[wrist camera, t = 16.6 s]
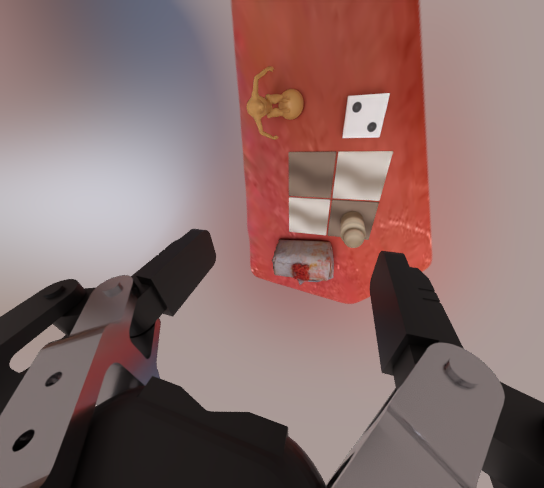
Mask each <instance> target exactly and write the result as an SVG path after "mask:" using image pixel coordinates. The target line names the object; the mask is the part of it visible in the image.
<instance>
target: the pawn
mask: <svg viewBox="0 0 544 488" xmlns="http://www.w3.org/2000/svg"><path fill="white" fill-rule="evenodd" d="M340 224H341V238H342V240H343V241H344V243H345V244H346V245H347V246H348V247H351V248H356V247H359V246H360V245H361V244H362V243H363V241H364V239H365V237H366V231H365V226H364V221H363V217H362V215H361V214H360V213H358V212H355V211H350V212H347V213H345V214H344V215H343V216H342V217H341V221H340Z"/></svg>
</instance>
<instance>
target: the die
mask: <svg viewBox="0 0 544 488" xmlns="http://www.w3.org/2000/svg"><path fill="white" fill-rule="evenodd" d="M389 95H390V93H383V94H370V95H356V96H348V99H347V106H346V113H345V120H344V127H343V138H373V137H380V133H381V129H382V125H383V120H384V116H385V112H386V108H387V104H388V99H389Z"/></svg>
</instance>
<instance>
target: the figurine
mask: <svg viewBox="0 0 544 488" xmlns="http://www.w3.org/2000/svg"><path fill="white" fill-rule="evenodd" d="M268 70H269V71H272V70H273V67H271V66H269V67H267V68H266V69H264V70H263V71H262V72H260V73H259V74H257V75H256V76H255V77H254V83H253V92H252V97H251V99H250V100H249V101H248V103H247V111H248V113H249V115H251V116H252V117H253V118H254V120H255V122H256V123H257V126H258V129H259V132H260V134H261V135H263V136H266V137H268V138H271V139H273V140H275V139H278V137H276V136H277V135H276V136H274V137H273V136H272V135H270V134H268V133H266V132H264V131H263V128H262V123H261V118H262V117H264V116H265V115H266V114H267V117H268V118H271V117H279V116H283V117H284V118H286V119H288V120H292V119H295V118H297V117H298V116H299V115H300V114H301V112H302V110H303V105H304V101H303V97H302V95H301V93H300V92H299V91H297V90H295V89H288V90H286V91H285V92H283V94H282V95H279V94H273V95H269V94H267V95H266V96H265V98H264V97H261V96H259V94H258V80H259V79H260V78H261V77H262V76H264V75H265V74H266V73H267V71H268ZM278 102H279V105H278V106H279V109H278V108H273V109H272V104H276V103H278Z"/></svg>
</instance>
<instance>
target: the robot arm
mask: <svg viewBox="0 0 544 488" xmlns="http://www.w3.org/2000/svg"><path fill="white" fill-rule="evenodd" d="M215 261H216V253H215V250H214V246H213V243H212V239H211V236H210V233H209V232H208V231H207V230H199V229H191V230H190V231H189V232H188V233H187V234H185V235H184V236H183V237H182V238H180V239H178V240H176V241H174V242H173V243H171V244H170V245H169V246H168V247H167V248H165V250H163V251H162V252H160V253H159V255H157V256H156V257H154V258H153V259H152V260H151V261H149V262H148V263H147V264H146V265H145V266H143V267H142V268H141V269H140V270H138V271H137V272H136V273H135V274H134V275H132V276H127V275H122V276H117V277H113V278H111V279H109V280H107V281H105V282H103V283H102V284H100V285H99V286H97V287H96V288H86V289H84V288H83V287H82V286H81V285H80V284H79V282H78V281H76V280H74V279H68V280H63V281H60V282H57V283H54V284H52V285H50V286H48V287H46V288H44V289H43V290H41V291H39V292H38V293H36V294H35V295H33V296H32V297H31V298H29V299H27V300H26V301H24V302H23V303H21V304H19V305H18V306H16V307H15V308H14V309H12V310H10V311H9V312H7V313H6V314H4V315H3V316H1V317H0V488H476V486H477V482H478V478H479V476H480V473H481V470H482V471H484V472H485V473H487V474H488V475H489V476H490V479H491V481H492V485H493V487H494V488H544V403H543V402H541V401H539V400H537V399H534V398H532V397H530V396H528V395H526V394H524V393H522V392H520V391H518V390H515V389H513V388H511V387H509V386H507V385H506V384H504V383H501V382H500V381H499V380H498V378H497V377H496V375H495V374H494V373H493V371H492V370H491V369H490V368H489V367H488V366H487V365H486V364H485V363H484V362H482V361H481V360H480V359H479V358H478V357H476V356H475V355H473V354H472V353H470V352H468V351H467V350H465V349H464V348H463V346H462V345H461V343H460V341H459V339H458V336H457V335H456V332H455V330H454V328H453V326H452V324H451V323H450V320H449V318H448V316H447V314H446V312H445V310H444V308H443V306H442V304H441V303H440V300H439V298H438V296H437V294H436V293H435V292H434V288H433V286H432V284H431V282H430V280H429V278H427V277H426V276H425V275H424V274H423V273H422V272H421V271H420V270H419V269H418V268H412V267H409V265H408V262H407V260H406V257H405V255H404V254H403V253H396V252H387V251H381V252H380V254H379V256H378V259H377V262H376V265H375V268H374V271H373V274H372V277H371V281H370V296H371V303H372V309H373V315H374V323H375V329H376V336H377V343H378V350H379V357H380V364H381V370H382V373H385V374H389V375H393V376H394V380H395V385H396V388H395V389H394V391H393V392H392V393H391V395H390V396H389V398H388V399H387V401H386V402H385V403H384V405H383V406H382V408H381V409H380V410H379V412H378V413H377V415H376V416H375V418H374V419H373V420H372V422H371V423H370V424H369V426H368V427H367V429H366V430H365V432H364V433H363V434H362V436H361V437H360V438H359V440H358V441H357V442H356V444H355V445H354V447H353V448H352V449H351V450H350V452H349V453H348V455H347V456H346V457H345V459H344V460H343V462H342V463H341V464H340V466H339V467H338V469H337V470H336V471H335V473H334V474H333V476H332V477H331V479H330V480H329V481H328V483H327V484H326V485H325V483H324V481H323V478H322V477H321V475H320V473H319V472H318V470H317V468H316V467H315V465H314V464H313V462H312V461H311V459H310V458H309V457H308V455H307V454H306V453H305V452H304V451H303V450H302V448H301V447H300V446H299V445H298V444H297V443H296V442H295V441H293V440H292V439H291V438H290V437H289V436H288V427H287V426H284V425H282V424H279V423H277V422H274V421H271V420H268V419H266V418H263V417H261V416H258V415H255V414H253V413H250V412H211V411H207V410H205V409H204V408H203V407H202V406H201V405H200V404H199V403H198V402H197V401H196V400H194V399H193V398H192V397H191V396H190V395H189V394H188V393H187V392H186V391H185V390H184V389H183V388H182V387H180V386H178V385H175V384H172V383H170V382H167V381H165V380H162V379H160V377H159V372H158V369H157V363H156V361H157V351H158V343H159V333H160V325H161V321H160V319H159V317H160V316H161V315H162V314H166V315H170V316H174V314H175V313H176V312H177V311H178V309H179V308H180V307H181V306H182V304H183V303H184V302H185V301H186V299H187V298H188V297H189V295H190V294H191V293H192V292H193V291H194V289H195V288H196V287H197V285H198V284H199V283H200V282H201V280H202V279H203V278H204V277H205V275H206V274H207V273H208V272H209V270H210V269H211V268H212V267H213V265H214V263H215ZM52 324H53V325H55V326H56V327H57V328H58V329H60V330H61V331H62V332H63V333H65V334H66V335H65V336H64V337H63V338H62V339H60V340H56V341H53V342H50V343H48V344H47V345H45V346H44V347H43V348H42V349H41V350H40V352H39V353H38V355H37V357H36V358H35V360H34V361H33V363H32V364H31V366H30V367H29V368H28V369H26V370H25V371H23V372H20V373H18V372H16V371H14V370H12V369H11V368H10V366H9V363H10V360H11V358H12V357H13V355H14V354H15V353H17V352H18V351H19V350H20V349H22V348H23V347H24V346H25V345H26V344H28V343H29V342H30V341H32V340H33V339H34V338H35V337H37V336H38V335H39V334H40V333H42V332H43V331H44V330H45V329H47V327H49V326H50V325H52ZM95 405H97V406H96V407H95Z"/></svg>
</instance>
